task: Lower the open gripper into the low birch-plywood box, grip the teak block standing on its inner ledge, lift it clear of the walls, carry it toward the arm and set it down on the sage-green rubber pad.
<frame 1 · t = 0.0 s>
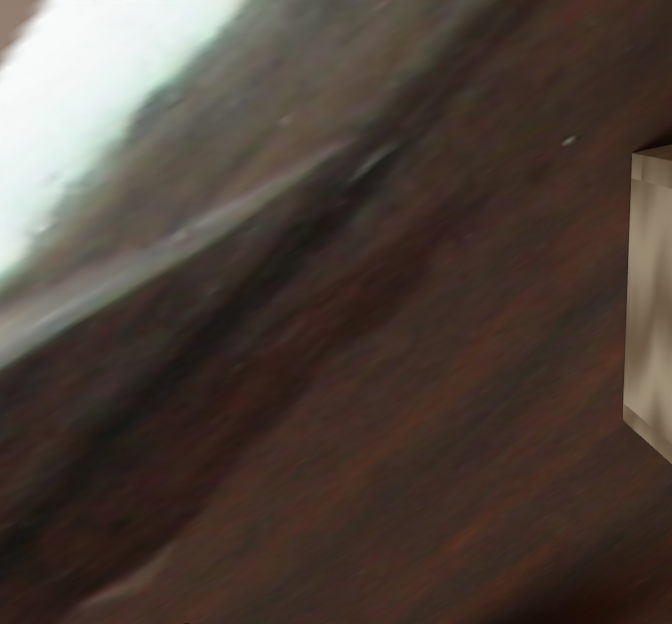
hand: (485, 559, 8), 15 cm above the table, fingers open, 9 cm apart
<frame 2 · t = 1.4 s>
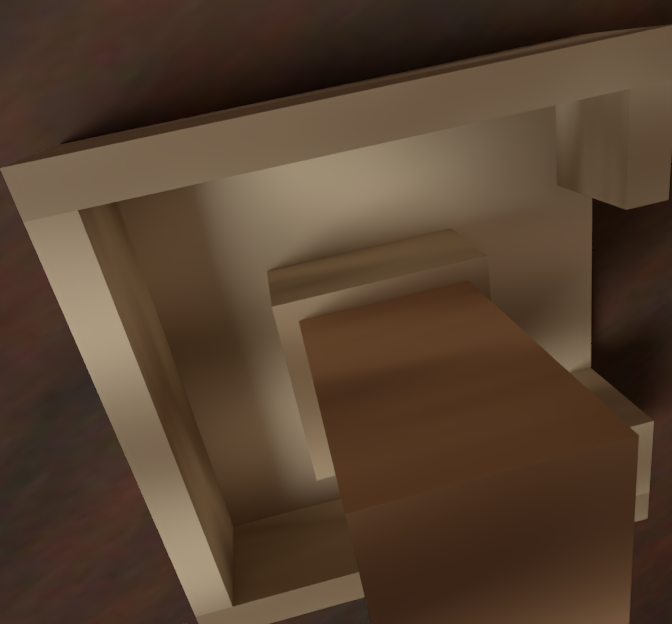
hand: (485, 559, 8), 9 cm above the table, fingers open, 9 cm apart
teak block: (396, 375, 13), point 3 cm above the table, touching access box
access box: (370, 324, 16), on the table
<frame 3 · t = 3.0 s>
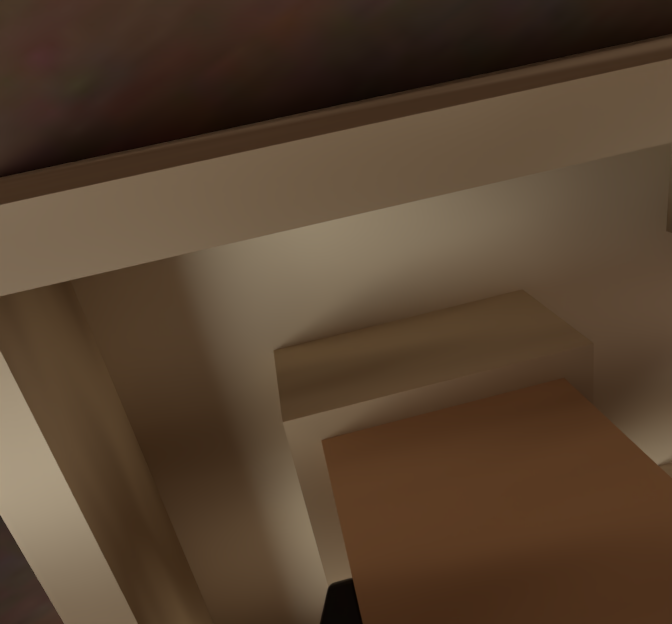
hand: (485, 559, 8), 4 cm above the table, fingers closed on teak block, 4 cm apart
teak block: (456, 503, 10), point 3 cm above the table, touching access box, gripper
access box: (408, 408, 12), on the table
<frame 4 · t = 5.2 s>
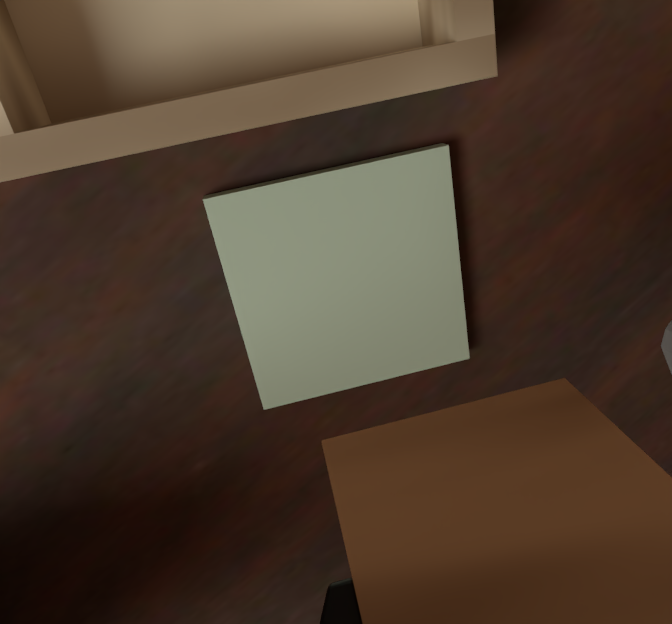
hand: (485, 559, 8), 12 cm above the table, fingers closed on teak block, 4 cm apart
teak block: (456, 504, 10), point 11 cm above the table, touching gripper
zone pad: (346, 281, 20), on the table
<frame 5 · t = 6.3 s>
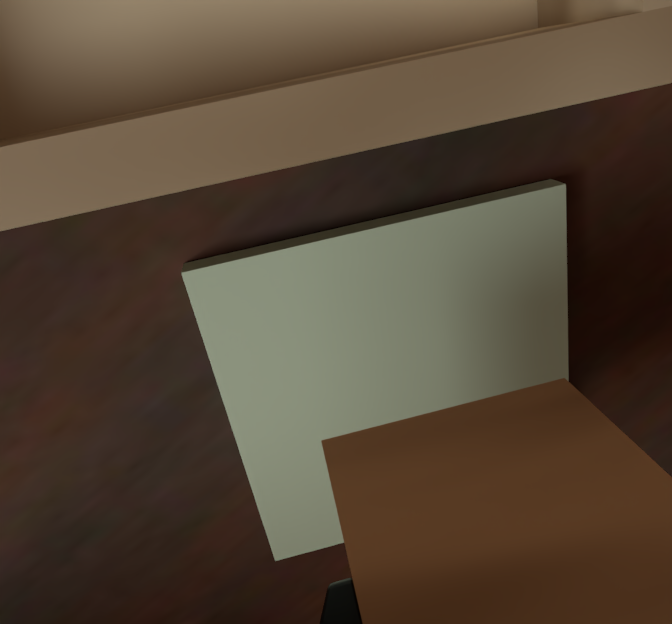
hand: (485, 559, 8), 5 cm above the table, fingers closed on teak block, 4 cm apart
teak block: (456, 504, 10), point 4 cm above the table, touching gripper
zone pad: (398, 379, 13), on the table
when the fingers open (3 cm above the table, at t = 7.5 s): teak block drops 1 cm, resting on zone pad.
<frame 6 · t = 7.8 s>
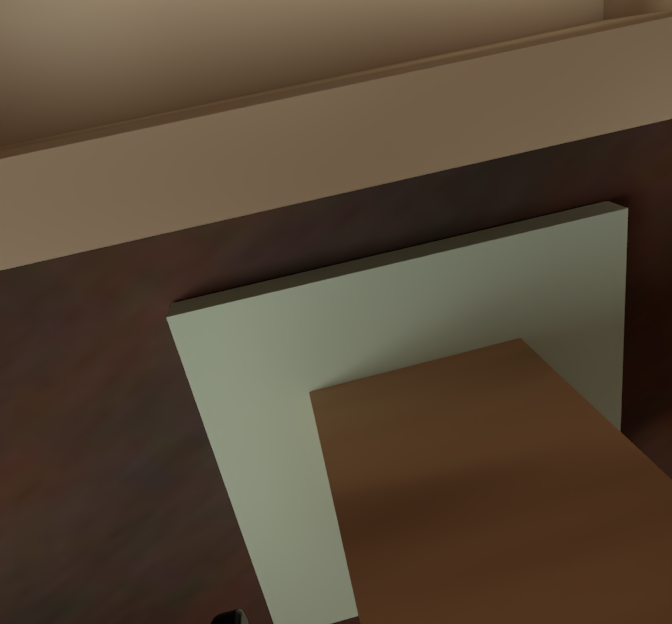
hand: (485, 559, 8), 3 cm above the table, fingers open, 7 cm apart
teak block: (429, 451, 11), point 1 cm above the table, touching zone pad
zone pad: (422, 432, 11), on the table
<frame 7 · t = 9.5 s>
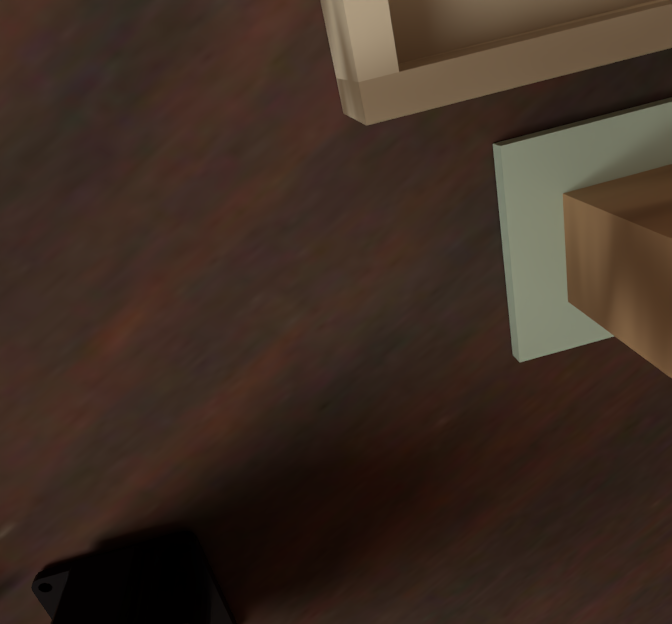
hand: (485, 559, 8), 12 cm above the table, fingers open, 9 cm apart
teak block: (620, 234, 19), point 1 cm above the table, touching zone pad
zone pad: (611, 229, 20), on the table
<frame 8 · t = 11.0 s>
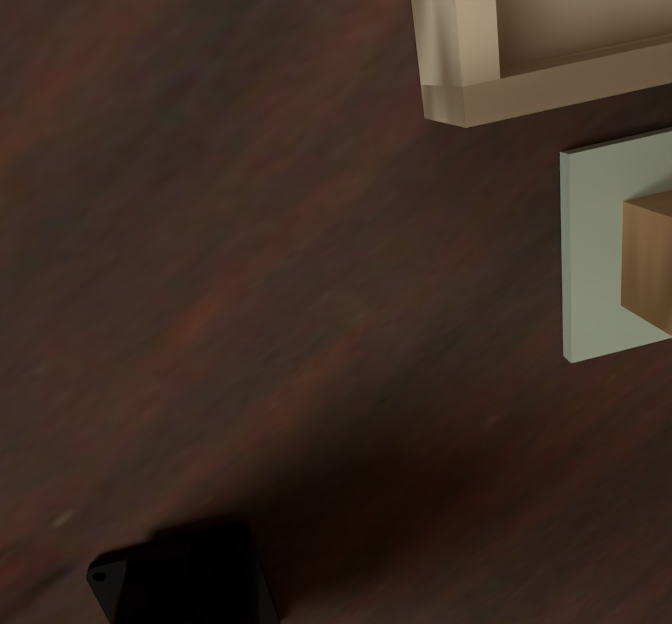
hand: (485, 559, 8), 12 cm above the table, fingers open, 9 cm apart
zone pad: (663, 237, 21), on the table
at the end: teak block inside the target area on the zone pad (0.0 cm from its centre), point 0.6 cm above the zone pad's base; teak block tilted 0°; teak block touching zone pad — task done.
